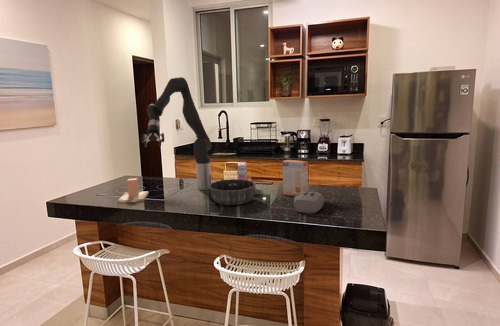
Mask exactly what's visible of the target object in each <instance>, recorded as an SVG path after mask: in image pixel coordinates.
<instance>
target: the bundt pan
mask: <svg viewBox="0 0 500 326" xmlns="http://www.w3.org/2000/svg"><path fill="white" fill-rule="evenodd" d="M256 185H257V183H256V182H255V181H254V180H250V179H247V180H244V179H238V178H236V179H235V178H232V179H221V180H216V181H213V182H211V184H210V185H209V187H210V189H209V190H210V195H211V198H212V200H213V201H214V202H215V203H218V204H219V205H220V206H221V205H222V206H223V205H225V206H235V205H237V206H238V205H239V206H241V205H243V204H244V205H245V204H247V203H249V202H250V201H252V199H253V197H254V196H255V192H256V191H255V190H256Z"/></svg>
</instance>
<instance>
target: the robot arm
mask: <svg viewBox="0 0 500 326" xmlns="http://www.w3.org/2000/svg"><path fill="white" fill-rule="evenodd" d="M175 93H180V94H181V96H182V100H183V101H182V115H183V117H184V120H185V123H186V124H187V125H188V126H189V127H190V129H191V130H192V132H194V134H195V136H196V140H195V141H194V142H193V153H194V154H193V156H194V159H195V164H196V165H195V168H196V187H197V190H201V191H202V190H203V191H206V190H210V187H209V185H210V184H211V183H212V174H211V173H212V172H211V171H212V170H211V158H210V157H209V156H208V152H209V151H210V150H211V149H212V141H211V139H210V138H209V135H208V134H207V132H206V129H205V128H204V124H203V123H202V120H201V118H200V115H199V112H198V110H197V107H196V105H195V102H194V100H193V97H192V94H191V90H190V86H189V84H188V82H187V79H185V77H182V76H179V77H172V78H171V77H170V79H169V80H168V82H167V84H166V86H165V88H164V89H163V91H162V93H161V95H160V96H159V97H158V98H157V100H156V101H155V103H151V104H149V105H148V106H147V109H146V112H147V115H148V118H149V119H148V123H147V124H148V126H147V134H145V133H142V134H141V143H142V144H143V146H144V148H147V147H148V142H151V141H157V142H158V148H160V147H162V143H165V133H164V132H161V131H160V129H161V126H160V125H161V124H160V122H161V118H160V117H161V116H162V115H163V113H164V111H165V108H166V107H167V106H168V105H169V103H170V100H171V96H172V95H173V94H175ZM160 132H161V133H160ZM160 137H161V138H160Z"/></svg>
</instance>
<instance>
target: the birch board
mask: <svg viewBox="0 0 500 326" xmlns="http://www.w3.org/2000/svg"><path fill="white" fill-rule="evenodd" d="M148 196H149V191H147V190H146V191H139V195H138V196H136V197H129V196H128V191H127V192H124V193H123V195H122V196H121V197H120V198H118V200H117V204H122V203H125V204H126V203H138V202H139V203H141V202H144V201H145V200H146V199H147V197H148Z"/></svg>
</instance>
